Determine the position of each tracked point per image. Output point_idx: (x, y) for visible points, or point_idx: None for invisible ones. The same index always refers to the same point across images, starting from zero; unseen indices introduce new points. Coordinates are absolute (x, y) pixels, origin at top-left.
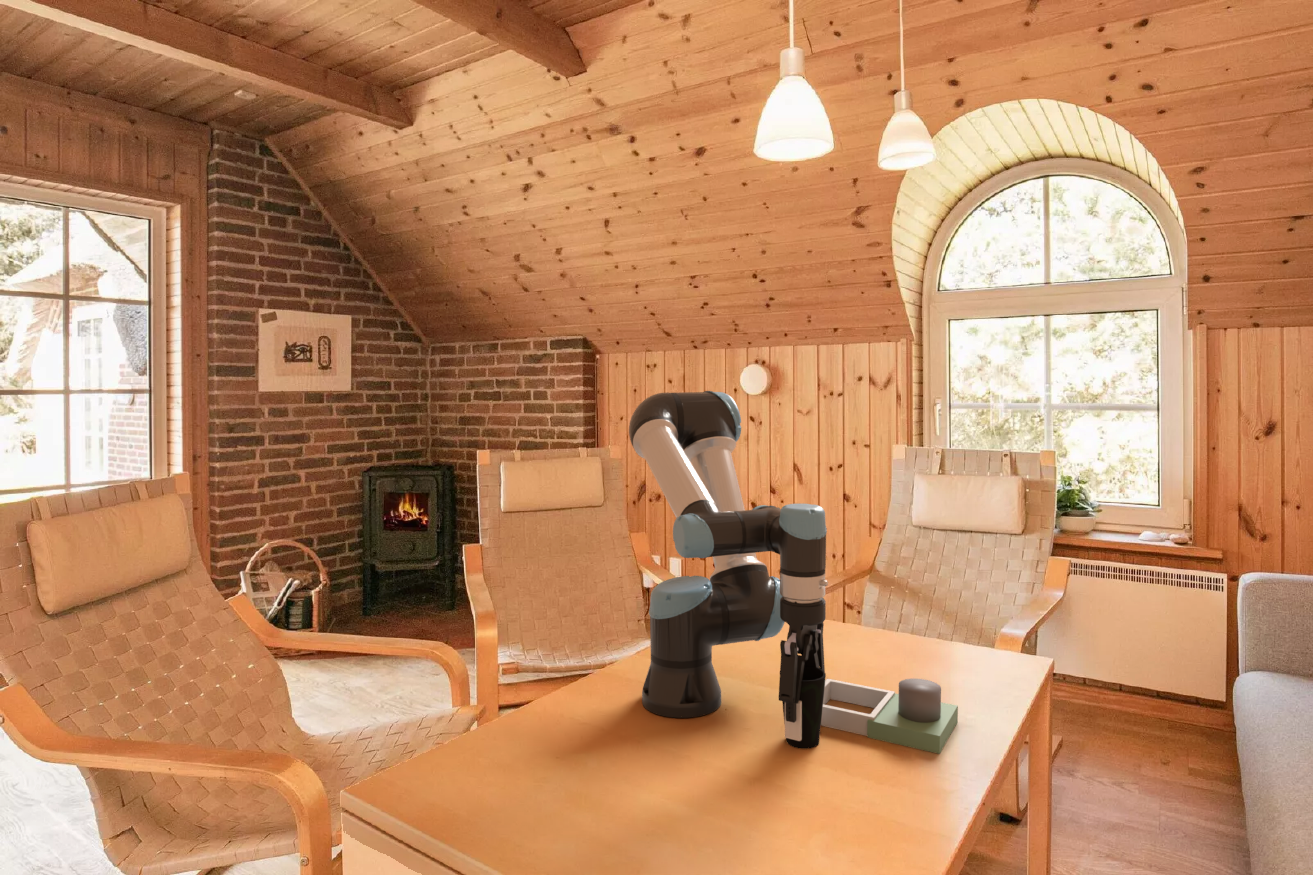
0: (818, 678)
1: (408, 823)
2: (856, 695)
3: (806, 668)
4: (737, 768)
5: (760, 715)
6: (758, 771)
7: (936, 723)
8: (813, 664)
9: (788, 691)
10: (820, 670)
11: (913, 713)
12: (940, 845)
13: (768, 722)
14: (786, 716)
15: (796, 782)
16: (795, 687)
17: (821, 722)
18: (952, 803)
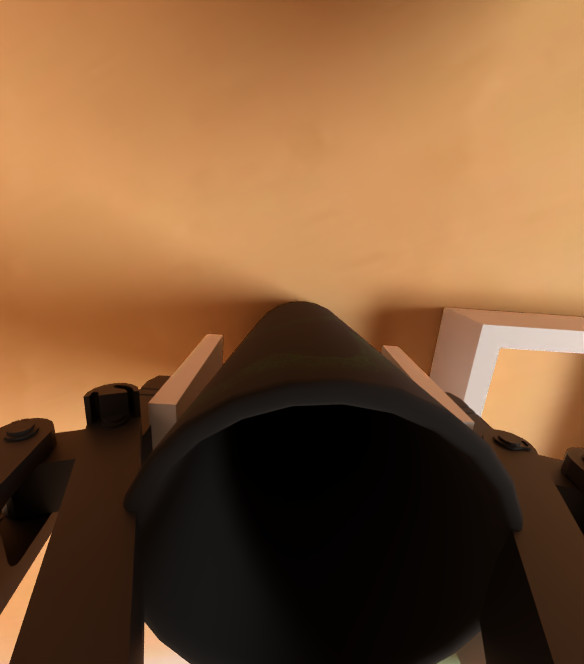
0: (416, 563)
1: None
2: None
3: (485, 531)
4: (24, 228)
5: (447, 146)
6: (50, 295)
7: (456, 660)
8: (492, 637)
9: None
10: (435, 646)
11: (462, 650)
12: None
13: (395, 200)
14: (144, 388)
15: (63, 405)
16: (5, 591)
17: (435, 373)
18: (175, 657)
